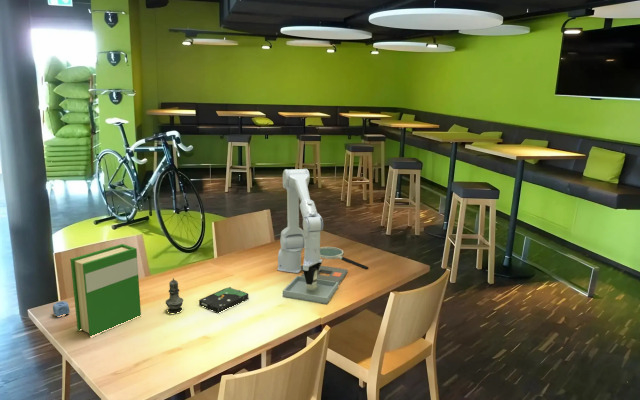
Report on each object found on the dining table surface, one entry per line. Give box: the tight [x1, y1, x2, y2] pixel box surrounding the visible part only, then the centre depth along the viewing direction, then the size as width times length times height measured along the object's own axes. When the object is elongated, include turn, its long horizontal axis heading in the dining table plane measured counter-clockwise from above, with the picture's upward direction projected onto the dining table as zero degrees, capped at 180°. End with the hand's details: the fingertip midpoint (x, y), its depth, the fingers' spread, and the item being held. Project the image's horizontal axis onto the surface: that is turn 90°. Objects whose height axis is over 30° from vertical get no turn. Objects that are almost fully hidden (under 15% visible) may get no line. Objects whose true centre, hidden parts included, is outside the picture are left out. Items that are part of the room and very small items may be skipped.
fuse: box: [306, 269, 317, 290], centre depth 179 cm, size 4×4×7 cm
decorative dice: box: [52, 300, 70, 316], centre depth 158 cm, size 4×4×4 cm
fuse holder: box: [300, 264, 349, 286], centre depth 196 cm, size 16×14×2 cm
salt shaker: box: [165, 277, 184, 314], centre depth 162 cm, size 6×6×12 cm
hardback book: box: [70, 243, 142, 337], centre depth 151 cm, size 18×7×24 cm, turn 146°
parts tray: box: [282, 275, 339, 305], centre depth 180 cm, size 17×15×2 cm
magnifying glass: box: [320, 246, 369, 271], centre depth 216 cm, size 13×31×2 cm, turn 42°
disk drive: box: [198, 286, 249, 314], centre depth 170 cm, size 10×3×15 cm
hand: (311, 281), depth 180 cm, fingers closed on fuse, 4 cm apart
